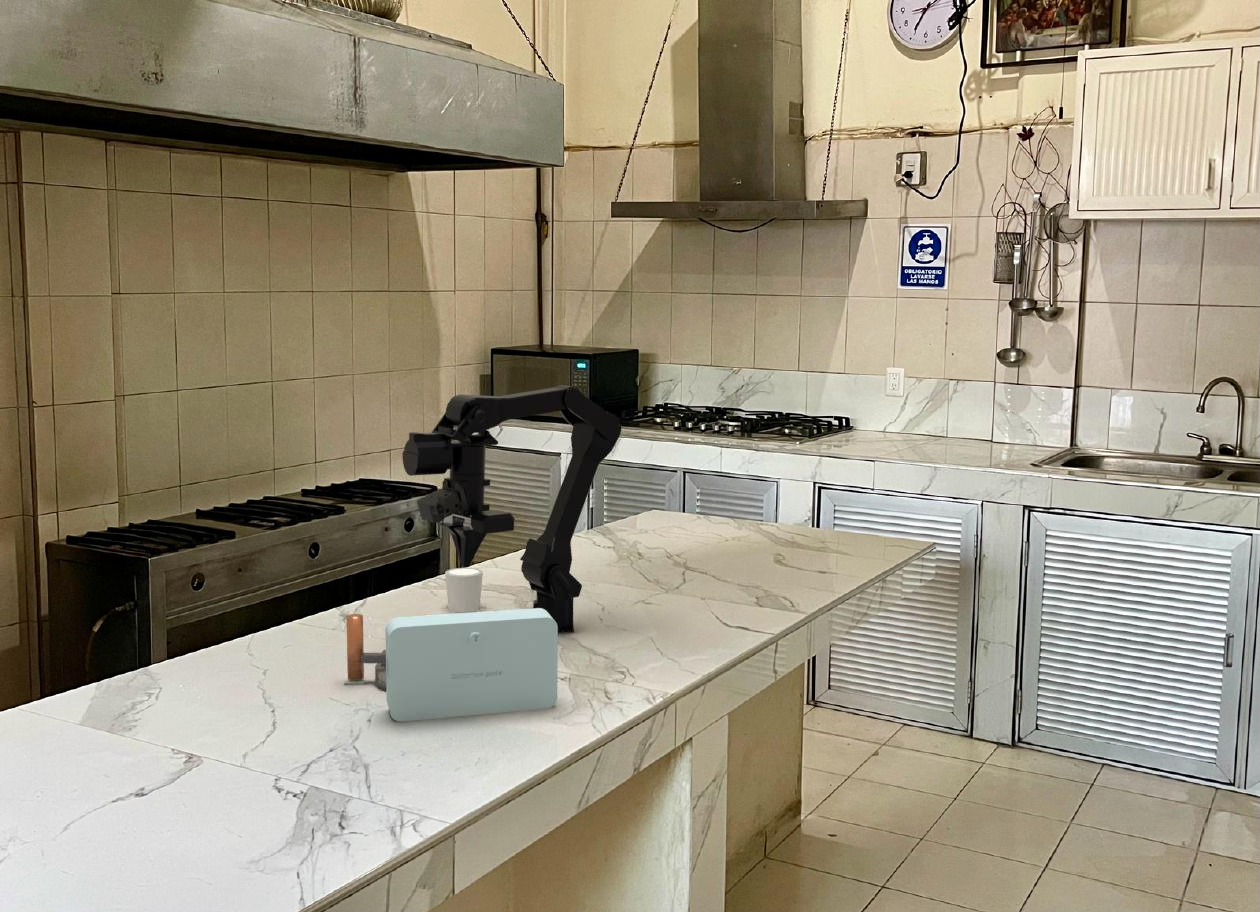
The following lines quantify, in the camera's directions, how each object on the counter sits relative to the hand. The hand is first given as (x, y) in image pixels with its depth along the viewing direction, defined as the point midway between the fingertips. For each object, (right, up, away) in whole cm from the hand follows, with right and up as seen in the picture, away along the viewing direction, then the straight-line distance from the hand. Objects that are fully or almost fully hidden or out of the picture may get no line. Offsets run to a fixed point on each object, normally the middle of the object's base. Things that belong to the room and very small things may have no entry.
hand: (465, 566), depth 198 cm
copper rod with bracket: (-12, -15, -18) cm, 26 cm away
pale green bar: (-14, -16, -19) cm, 28 cm away
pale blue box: (+5, -18, -28) cm, 34 cm away
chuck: (-6, -16, -17) cm, 24 cm away
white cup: (-3, -10, +24) cm, 26 cm away
